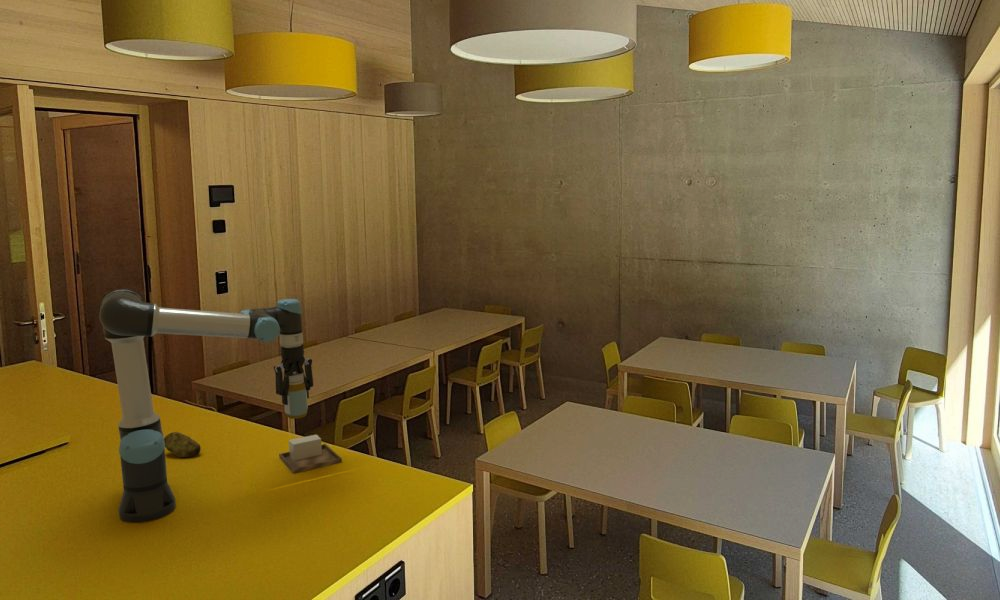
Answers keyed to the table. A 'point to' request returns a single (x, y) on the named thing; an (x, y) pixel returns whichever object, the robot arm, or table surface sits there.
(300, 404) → the bottle
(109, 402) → the table surface
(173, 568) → the table surface
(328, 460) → the tray
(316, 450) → the carton
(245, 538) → the table surface
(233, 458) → the table surface
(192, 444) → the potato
